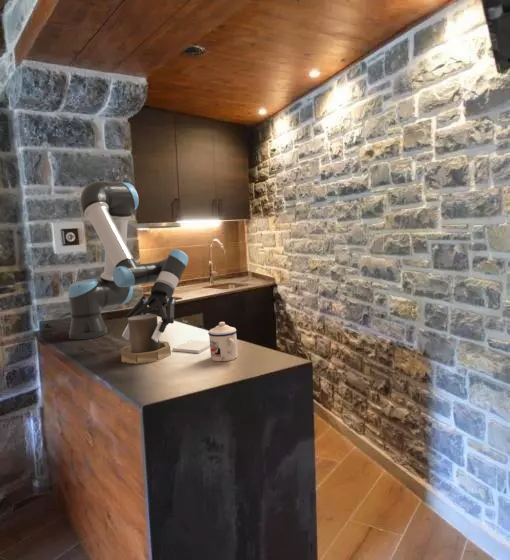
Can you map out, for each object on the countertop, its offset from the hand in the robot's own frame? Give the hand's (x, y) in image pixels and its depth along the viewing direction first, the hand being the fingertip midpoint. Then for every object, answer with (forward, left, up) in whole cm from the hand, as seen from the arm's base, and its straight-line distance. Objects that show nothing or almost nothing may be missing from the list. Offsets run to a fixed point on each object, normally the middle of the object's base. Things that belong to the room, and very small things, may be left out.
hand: (139, 339), depth 144 cm
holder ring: (0, +3, -6) cm, 7 cm away
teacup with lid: (+29, +8, -7) cm, 31 cm away
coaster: (+11, +16, -6) cm, 20 cm away
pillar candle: (0, +3, -7) cm, 7 cm away
